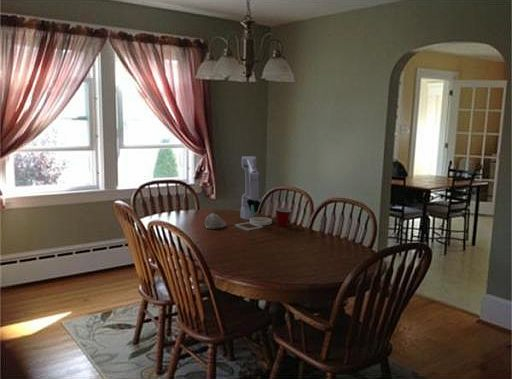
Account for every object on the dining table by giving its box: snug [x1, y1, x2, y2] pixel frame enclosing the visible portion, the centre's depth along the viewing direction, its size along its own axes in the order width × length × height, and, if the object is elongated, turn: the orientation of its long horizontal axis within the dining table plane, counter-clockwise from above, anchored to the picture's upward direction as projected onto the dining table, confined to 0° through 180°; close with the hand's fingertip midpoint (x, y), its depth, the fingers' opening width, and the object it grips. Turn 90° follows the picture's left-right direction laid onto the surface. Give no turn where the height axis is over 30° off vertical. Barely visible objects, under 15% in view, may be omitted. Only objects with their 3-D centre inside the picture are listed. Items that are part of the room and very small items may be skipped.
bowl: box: [249, 216, 273, 226], centre depth 314 cm, size 15×15×3 cm
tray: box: [234, 221, 264, 232], centre depth 302 cm, size 14×12×2 cm
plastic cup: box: [274, 207, 292, 228], centre depth 307 cm, size 11×11×12 cm
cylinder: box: [251, 205, 258, 216], centre depth 305 cm, size 4×4×6 cm
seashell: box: [203, 212, 227, 230], centre depth 303 cm, size 12×14×10 cm
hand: (253, 211), depth 305 cm, fingers closed on cylinder, 4 cm apart
